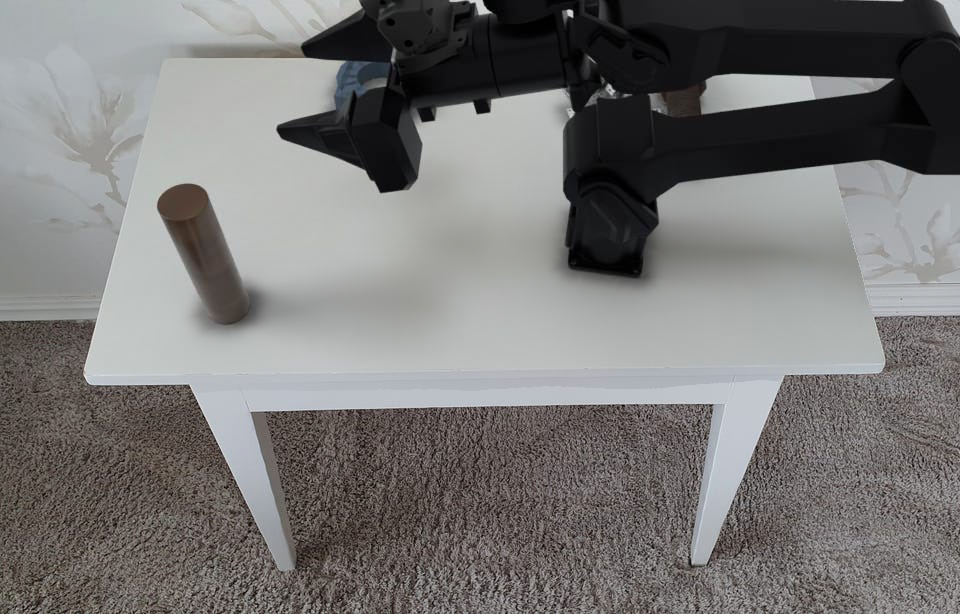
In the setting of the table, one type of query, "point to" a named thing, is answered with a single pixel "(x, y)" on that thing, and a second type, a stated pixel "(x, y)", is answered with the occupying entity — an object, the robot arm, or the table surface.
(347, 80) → the mount plate
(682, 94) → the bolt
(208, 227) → the post
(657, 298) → the table surface
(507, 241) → the table surface
